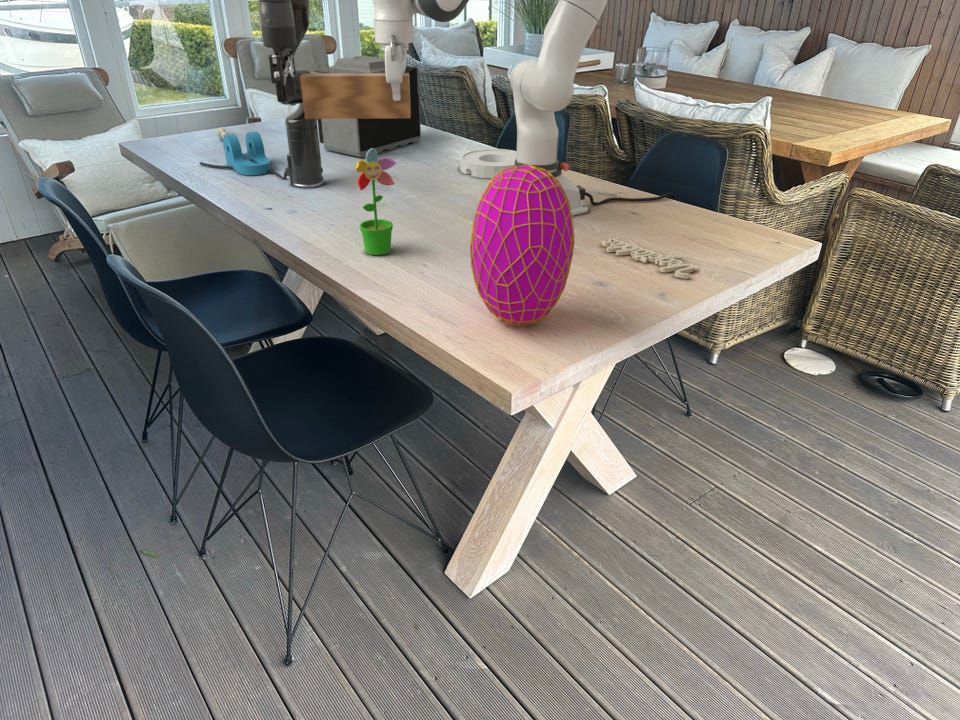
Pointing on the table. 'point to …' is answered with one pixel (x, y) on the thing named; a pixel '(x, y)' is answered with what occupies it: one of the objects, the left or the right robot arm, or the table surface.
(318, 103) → the bar
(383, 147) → the electronic device
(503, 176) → the decorative egg
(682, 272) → the decorative sign
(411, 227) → the table surface
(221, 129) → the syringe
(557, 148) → the right robot arm
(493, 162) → the ashtray
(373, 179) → the potted flower
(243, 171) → the camera mount
